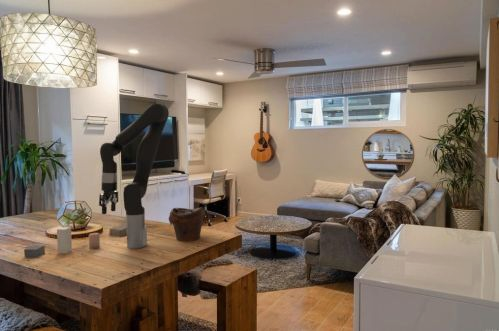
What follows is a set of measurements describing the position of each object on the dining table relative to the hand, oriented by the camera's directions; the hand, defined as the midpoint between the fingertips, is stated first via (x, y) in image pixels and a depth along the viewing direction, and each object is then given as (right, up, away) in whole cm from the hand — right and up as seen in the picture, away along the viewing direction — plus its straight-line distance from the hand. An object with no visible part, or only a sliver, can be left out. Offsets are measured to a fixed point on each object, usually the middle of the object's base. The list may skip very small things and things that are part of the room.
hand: (108, 212), depth 183 cm
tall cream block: (-19, -19, -8) cm, 27 cm away
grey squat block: (-31, -19, -12) cm, 38 cm away
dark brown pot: (+38, -17, +15) cm, 44 cm away
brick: (-2, -16, +28) cm, 33 cm away
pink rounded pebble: (-7, -18, -1) cm, 19 cm away
